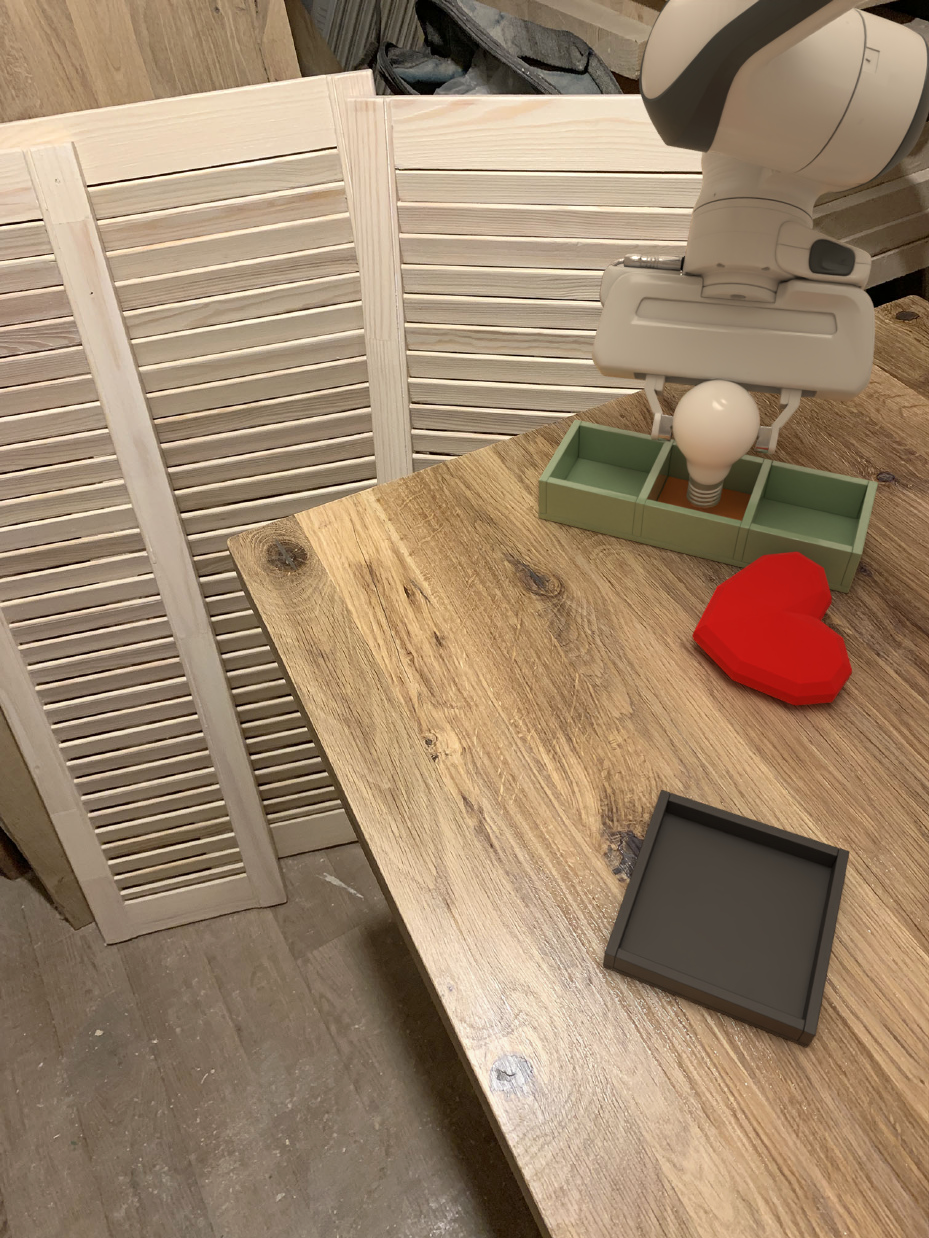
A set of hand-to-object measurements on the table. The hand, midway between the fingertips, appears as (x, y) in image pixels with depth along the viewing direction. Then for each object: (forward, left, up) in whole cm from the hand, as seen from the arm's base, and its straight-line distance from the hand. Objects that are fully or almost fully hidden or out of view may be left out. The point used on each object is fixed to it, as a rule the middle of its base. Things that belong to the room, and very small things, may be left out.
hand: (712, 446), depth 70 cm
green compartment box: (0, -1, -8) cm, 8 cm away
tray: (-10, +32, -8) cm, 35 cm away
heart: (-7, +11, -8) cm, 16 cm away
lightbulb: (0, -1, -6) cm, 6 cm away
